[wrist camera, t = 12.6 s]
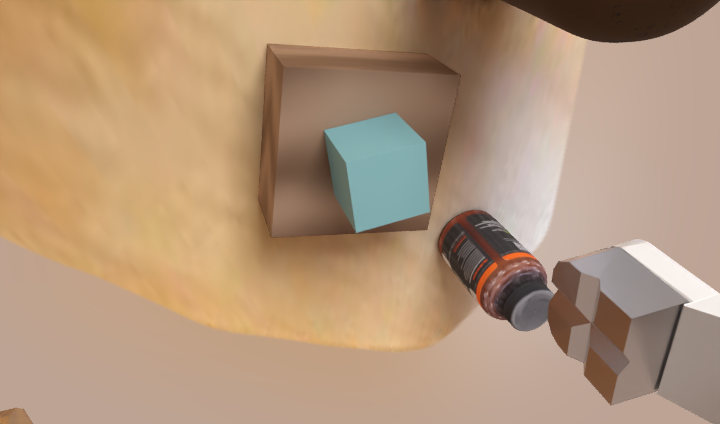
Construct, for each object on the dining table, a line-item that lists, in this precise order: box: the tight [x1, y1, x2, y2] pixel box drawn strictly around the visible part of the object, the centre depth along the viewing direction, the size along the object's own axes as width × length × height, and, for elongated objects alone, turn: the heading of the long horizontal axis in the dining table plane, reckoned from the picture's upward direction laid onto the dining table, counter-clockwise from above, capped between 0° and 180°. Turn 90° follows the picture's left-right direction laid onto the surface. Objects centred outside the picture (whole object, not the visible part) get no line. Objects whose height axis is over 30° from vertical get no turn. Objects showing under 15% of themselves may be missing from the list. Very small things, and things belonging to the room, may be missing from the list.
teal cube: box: [324, 113, 430, 233], centre depth 37 cm, size 5×5×5 cm
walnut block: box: [258, 44, 461, 238], centre depth 42 cm, size 12×12×6 cm
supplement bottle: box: [439, 210, 554, 331], centre depth 48 cm, size 6×6×11 cm
